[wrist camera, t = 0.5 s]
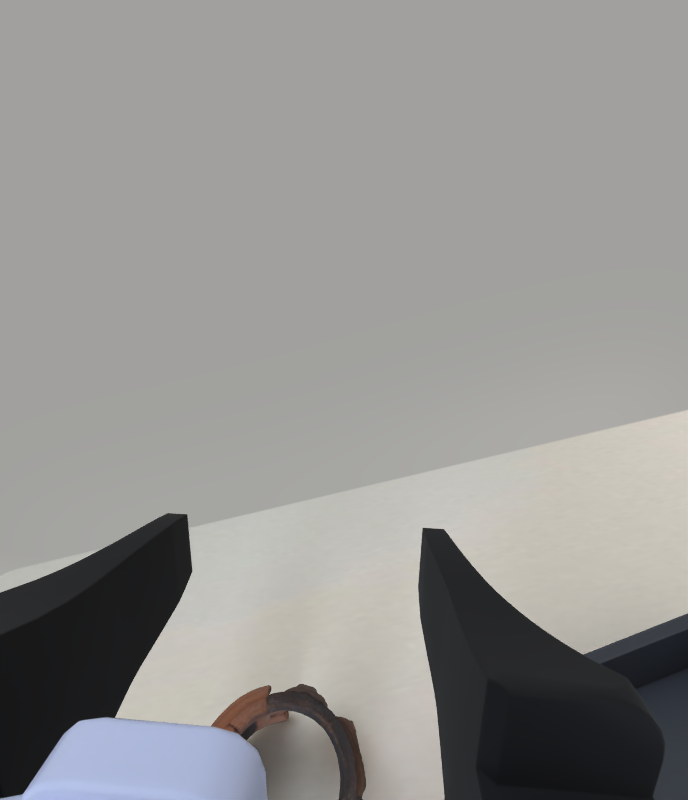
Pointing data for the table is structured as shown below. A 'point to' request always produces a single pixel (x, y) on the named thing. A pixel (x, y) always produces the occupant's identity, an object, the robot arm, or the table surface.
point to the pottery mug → (273, 708)
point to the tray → (659, 692)
